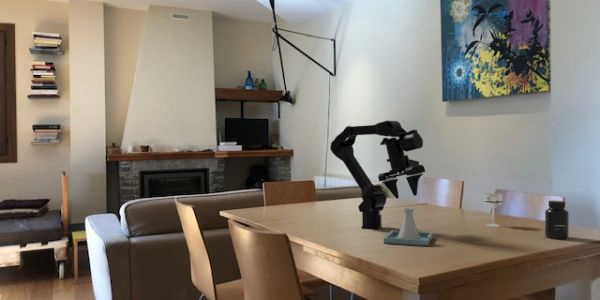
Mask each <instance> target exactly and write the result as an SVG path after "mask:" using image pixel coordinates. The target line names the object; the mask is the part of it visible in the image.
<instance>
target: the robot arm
mask: <svg viewBox="0 0 600 300" xmlns="http://www.w3.org/2000/svg"><path fill="white" fill-rule="evenodd" d="M366 135H367V136H368V135H372V136H373V135H377V136H383V138H382V140H381V141H380V143H379V145H381V146H384V145H385V148H386V152H387V156H388V159H386V163H389V164H390V170H389V171H387V172H383V173H379V174H378V175H377V178H378V181H379V183H380V182H381V184H383V185H384V186H385V187H386V188H387V189H388V190H389V192H390V193H391V194H392V195H393V197H395V199H399V197H400V196H399V191H398V185H397V183H398V180H399V178H397V177H401V176H406V177H405V179H406V181H407V183H408V186H409V188H410V191H411V193H412V195H413V196H414V197H415V196H417V195H418V188H419V180H420V178H421V176H423V175H424V173H425V172H426V169H425V166H424V165H423V164H420V161H418V160H414V159H409V156H408V154H405V152H406V153H407V152H410V151H415V150H419V149H422V148H423V146H424V141H423V138H422V136H421V135H420V133H418V129H411V130H410V131H406V129H404V128H403V127H402V125H401V123H400V121H397V120H383V121H379V122H377V123H374V124H367V125H366V124H365V125H348V126H345V128H344V129H343V130H342V131H340V133H339V134H337V135H336V137H335V138H334V139H333V140H332V141H331V143H330V147H329V149H330V152H331V153H332V154H333V155H334V156H335V157H336V158H337V159H339V160H340V161H341V162H343V163H344V165H345V167H346V169H347V171H349V173H350V174H351V176H352V178H353V179H354V181H355V183H356V184H357V185H358V188H359V189H360V191H361V192H360V193H361V199H362V201H361V203H359V205H358V210H359V211H358V212H360V213H361V214H362V217H361V218H362V220H361V221H362V226H361V227H360V228H361V229H374V230H378V229H380V228H381V227H382V226H383V221H382V219H383V216H382V214H381V211H382V212H383V211H384V207H385V205H386V203H387V199H388V198H387V195H386V191H384V190H383V188H382V185H380V184H378V185H374V183H373V182H372V181H371V179H370V178H369V177H368V175H367V174H366V171H364V169H363V167H362V166H361V165H360V162H359V161H358V159H357V158H356V156H355V155H354V152H355V151H354V144H355V143H356V140H357V139H356V138H357V137H358V136H366ZM388 137H390V138H388Z"/></svg>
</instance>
